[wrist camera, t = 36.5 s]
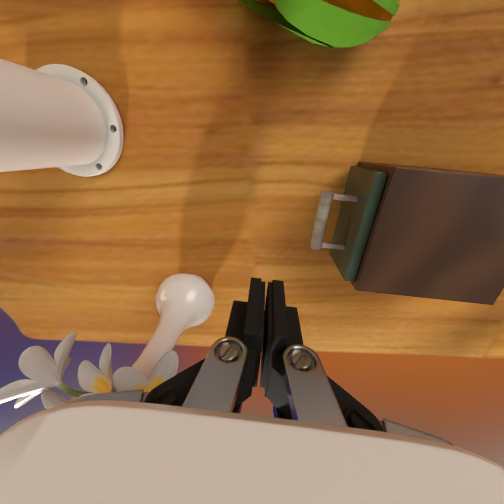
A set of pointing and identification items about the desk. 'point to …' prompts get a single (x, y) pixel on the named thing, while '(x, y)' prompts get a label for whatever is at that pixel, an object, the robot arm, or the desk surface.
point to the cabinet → (436, 235)
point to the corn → (330, 19)
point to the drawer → (350, 219)
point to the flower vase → (124, 379)
